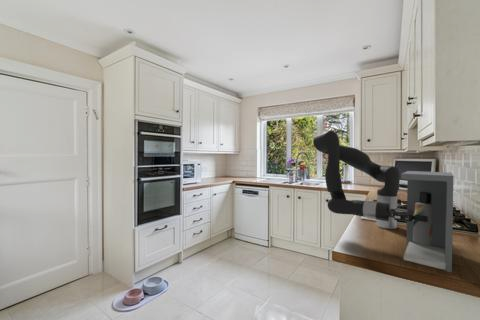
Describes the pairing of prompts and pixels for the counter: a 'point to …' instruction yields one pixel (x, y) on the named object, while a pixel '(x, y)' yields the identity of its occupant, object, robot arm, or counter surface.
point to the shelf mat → (425, 255)
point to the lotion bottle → (423, 229)
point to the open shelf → (443, 207)
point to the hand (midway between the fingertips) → (427, 218)
